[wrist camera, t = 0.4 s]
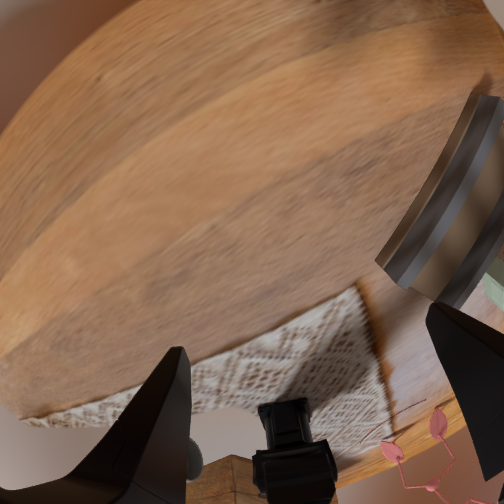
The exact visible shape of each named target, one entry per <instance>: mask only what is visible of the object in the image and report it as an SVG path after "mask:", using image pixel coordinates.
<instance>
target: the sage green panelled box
mask: <svg viewBox="0 0 504 504" xmlns="http://www.w3.org/2000/svg"><path fill="white" fill-rule="evenodd" d="M483 282H484V291H485V295H486V296H487V297H488V298H489V299H490V300H491V301H492V302H493V303H495V304H496V305H497V306H498V307H499V308H500V309H501V310H502V311H503V312H504V261H503V260H502V259H500V258H499V257H497V256H496V257H495V258H494V260H493V262H492V263H491V265H490V266H489V268H488V269H487V271H486V273H485V274H484V276H483Z"/></svg>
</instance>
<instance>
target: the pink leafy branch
mask: <svg viewBox="0 0 504 504" xmlns="http://www.w3.org/2000/svg"><path fill="white" fill-rule="evenodd" d="M425 400H426V399H425ZM425 400H423V401H425ZM423 401H421V402H423ZM418 403H420V402H418ZM418 403H416V404H418ZM416 404H414V405H416ZM414 405H412V406H414ZM412 406H410V407H412ZM455 406H456V405H455ZM410 407H408V408H410ZM408 408H406V409H408ZM406 409H405V410H406ZM437 409H438V408H436V409H435V411H434V413H433V417H432V418H431V420H430V433H431V435H432V437H433V438H434V439H435V440H438V441H439V439H441V440H442V441H443V442H444V444H445V446H446V448H447V449H448V451H449V452H450V454H451V456H452V457H453V459H454V461H453V462H452V463H451V464H450V465H449V467H448V468H450V467H451V465H452V464H453V463H454V462H455V457H454V455H453V454H452V452H451V450H450V449H449V447H448V445H447V444H446V443H445V441H444V439H443V437H444V436H445V433H446V430H447V419H446V416H445V415H444V413H443V412H442V411H441V410H440V409H438V411H437ZM403 411H404V410H403ZM401 412H402V411H401ZM399 413H400V412H399ZM399 413H398V412H397V413H396V415H397V414H399ZM394 416H395V414H394ZM394 416H391V418H392V417H394ZM389 419H390V418H389ZM389 419H388V420H389ZM386 421H387V420H386ZM386 421H385V422H386ZM383 423H384V422H383ZM383 423H382V424H383ZM380 425H381V424H380ZM380 425H379V426H380ZM379 426H378V427H379ZM376 428H377V427H376ZM376 428H375V429H376ZM375 429H374V430H375ZM372 431H373V429H372ZM372 431H371V432H372ZM371 432H370V433H371ZM370 433H369V434H370ZM369 434H368V435H369ZM368 435H367V436H368ZM367 436H366V437H367ZM362 441H363V440H362ZM362 441H361V442H362ZM361 442H360V443H361ZM381 448H382V452H383V454H384V456H385V457H386V458H387V459H388V460H390V461H392V462H395V463H398V465H399V469H400V473H401V477H402V480H403V484H404V487H405V488H418V487H426V488H427V490H429V491H435V492H436V493H437V494H438V495H439V497H440V498H441V499H442V500H443V502H444V503H445V504H449V502H447V500H446V499H445V498H444V497H443V496H442V495H441V494H440V493H439V492H438V491H437V490H436V489H437V488H438V487H439V485H440V481H439V479H440V478H441V477H442V476H443V475H444V474H445V472H446V471H447V470H448V468H447V469H446V470H445V472H443V474H442V475H441V476H440V477H439V478H432V479H430V480H429V481H428V482H427V484H426V485H422V486H411V487H410V486H409V487H406V484H405V481H404V477H403V473H402V470H401V466H400V462H401V461H403V458H404V455H403V452H402V450H401V449H400V447H399V446H397V445H396V444H395V442H394V441H393V442H392V443H390V442H386V441H381ZM499 496H500V495H499ZM498 499H499V497H498ZM470 500H471V501H473V502H477V503H481V504H493V503H489V502H484V501H480V500H476V499H473V498H472V499H471V498H469V499H468V500H467V501H466V502H465V503H464V504H467V503H468V502H469V501H470ZM497 504H498V501H497Z"/></svg>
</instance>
